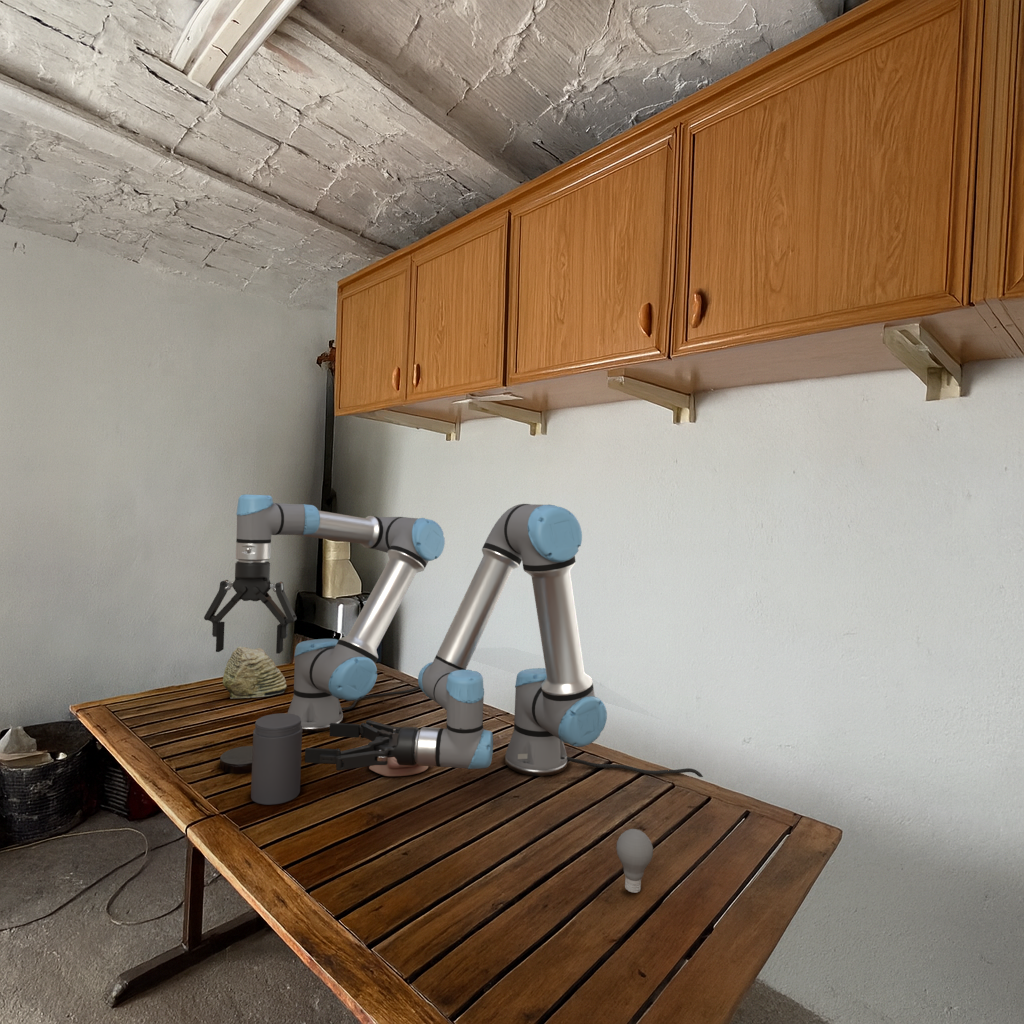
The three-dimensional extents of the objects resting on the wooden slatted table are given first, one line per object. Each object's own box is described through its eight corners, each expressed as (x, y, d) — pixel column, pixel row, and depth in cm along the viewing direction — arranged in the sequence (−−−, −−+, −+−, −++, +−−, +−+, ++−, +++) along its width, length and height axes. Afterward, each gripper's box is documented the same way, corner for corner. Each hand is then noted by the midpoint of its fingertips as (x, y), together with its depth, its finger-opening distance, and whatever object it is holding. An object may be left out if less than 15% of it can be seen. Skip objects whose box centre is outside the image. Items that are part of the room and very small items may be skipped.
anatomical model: (363, 756, 145) (383, 738, 157) (363, 773, 146) (383, 754, 157) (418, 763, 143) (435, 744, 154) (418, 780, 143) (434, 760, 154)
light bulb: (610, 879, 108) (613, 822, 108) (644, 879, 109) (647, 822, 109) (619, 902, 102) (622, 840, 102) (655, 901, 103) (658, 840, 103)
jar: (242, 803, 130) (245, 727, 129) (262, 782, 139) (265, 711, 139) (289, 806, 129) (292, 729, 129) (306, 784, 139) (309, 713, 139)
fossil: (218, 695, 195) (220, 647, 195) (278, 685, 208) (279, 640, 207) (228, 703, 189) (230, 653, 188) (289, 692, 201) (290, 645, 201)
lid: (265, 772, 144) (265, 763, 144) (214, 774, 142) (214, 765, 142) (273, 753, 155) (273, 745, 155) (226, 755, 152) (226, 746, 152)
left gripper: (190, 560, 143) (187, 653, 143) (303, 564, 145) (300, 656, 145) (204, 557, 150) (201, 646, 151) (311, 561, 152) (308, 648, 152)
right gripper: (403, 792, 119) (293, 786, 121) (430, 740, 144) (338, 736, 146) (403, 753, 119) (294, 748, 120) (430, 708, 144) (339, 704, 145)
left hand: (249, 651), depth 148 cm, fingers open, 13 cm apart
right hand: (318, 741), depth 133 cm, fingers open, 13 cm apart
